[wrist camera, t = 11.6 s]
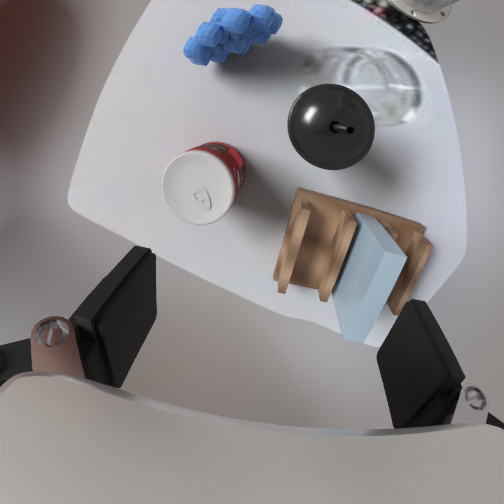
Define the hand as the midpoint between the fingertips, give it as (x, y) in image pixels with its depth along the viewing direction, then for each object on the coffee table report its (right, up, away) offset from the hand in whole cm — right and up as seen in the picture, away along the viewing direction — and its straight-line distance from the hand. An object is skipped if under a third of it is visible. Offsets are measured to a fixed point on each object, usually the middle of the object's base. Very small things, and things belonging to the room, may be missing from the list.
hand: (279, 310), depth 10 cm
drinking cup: (+7, +19, +24) cm, 31 cm away
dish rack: (+13, +2, +32) cm, 34 cm away
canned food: (-6, +13, +28) cm, 32 cm away
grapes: (-3, +29, +20) cm, 35 cm away
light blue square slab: (+13, +2, +30) cm, 33 cm away
